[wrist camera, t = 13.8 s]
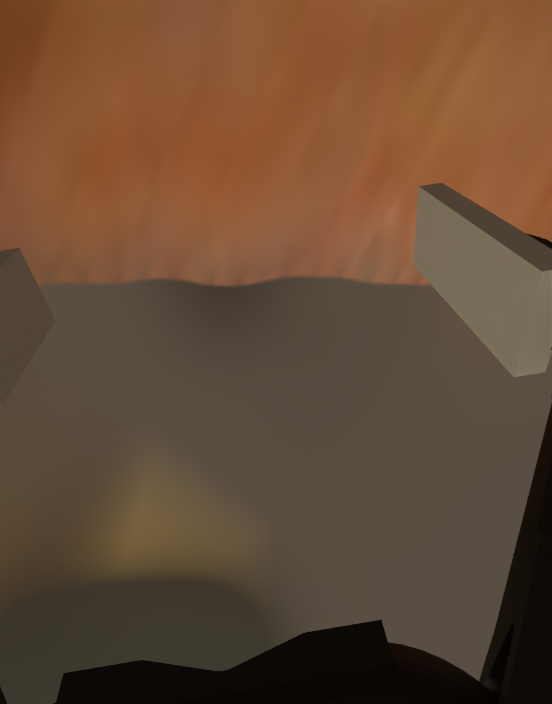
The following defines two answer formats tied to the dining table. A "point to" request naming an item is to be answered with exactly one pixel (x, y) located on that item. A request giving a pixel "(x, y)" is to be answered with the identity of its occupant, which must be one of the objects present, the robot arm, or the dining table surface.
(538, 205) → the dining table surface
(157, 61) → the dining table surface
